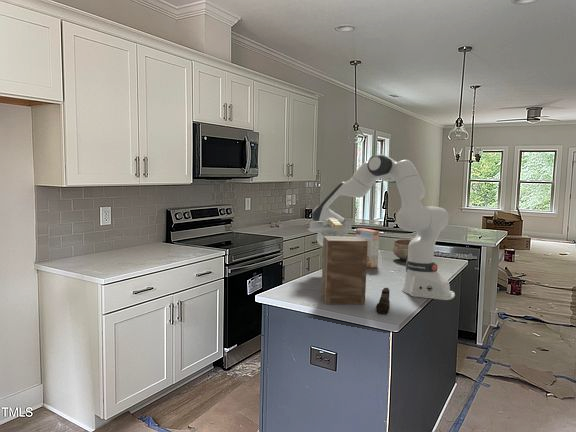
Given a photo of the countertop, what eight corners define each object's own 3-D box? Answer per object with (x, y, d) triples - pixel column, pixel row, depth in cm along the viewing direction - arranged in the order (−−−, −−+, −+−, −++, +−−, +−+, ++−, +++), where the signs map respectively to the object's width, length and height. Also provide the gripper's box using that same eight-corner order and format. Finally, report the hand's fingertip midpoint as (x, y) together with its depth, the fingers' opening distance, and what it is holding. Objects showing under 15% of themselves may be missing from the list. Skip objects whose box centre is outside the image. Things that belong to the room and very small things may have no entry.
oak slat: (327, 222, 214) (328, 217, 214) (334, 222, 215) (334, 217, 214) (335, 230, 195) (335, 225, 194) (342, 230, 195) (342, 225, 195)
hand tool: (388, 316, 167) (389, 301, 167) (375, 314, 169) (376, 300, 168) (394, 300, 189) (394, 287, 188) (382, 298, 190) (383, 285, 190)
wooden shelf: (321, 295, 191) (323, 236, 189) (357, 295, 193) (360, 236, 190) (325, 304, 179) (328, 240, 177) (364, 304, 181) (367, 241, 178)
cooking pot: (395, 255, 289) (396, 237, 288) (426, 258, 281) (427, 239, 280) (388, 262, 266) (389, 242, 265) (420, 265, 259) (422, 245, 257)
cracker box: (378, 267, 252) (380, 230, 250) (370, 268, 248) (372, 231, 246) (361, 262, 263) (363, 227, 261) (353, 263, 260) (355, 228, 258)
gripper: (307, 224, 223) (310, 214, 210) (347, 225, 225) (353, 215, 212) (307, 236, 221) (311, 227, 208) (348, 236, 223) (354, 227, 210)
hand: (332, 221), depth 210 cm, fingers closed on oak slat, 3 cm apart
